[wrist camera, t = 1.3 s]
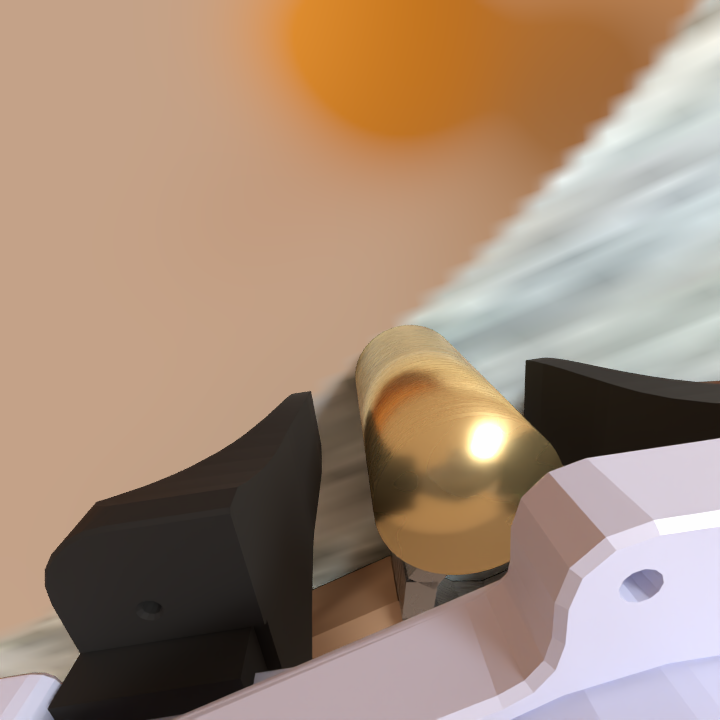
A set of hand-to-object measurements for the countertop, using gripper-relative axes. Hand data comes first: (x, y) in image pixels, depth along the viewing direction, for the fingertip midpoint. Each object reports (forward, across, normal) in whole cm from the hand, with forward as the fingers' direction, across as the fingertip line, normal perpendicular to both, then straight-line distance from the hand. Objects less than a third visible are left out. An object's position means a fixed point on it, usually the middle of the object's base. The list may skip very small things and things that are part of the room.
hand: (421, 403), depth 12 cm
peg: (+2, 0, 0) cm, 2 cm away
